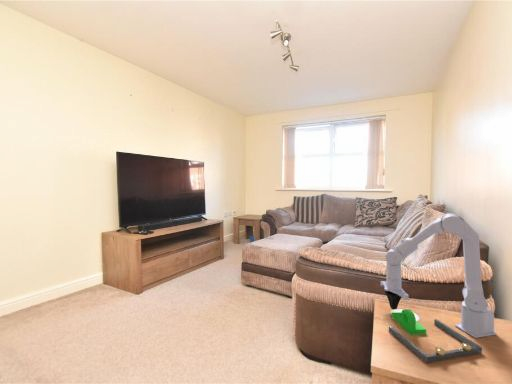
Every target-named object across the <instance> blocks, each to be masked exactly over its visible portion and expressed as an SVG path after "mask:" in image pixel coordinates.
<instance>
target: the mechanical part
mask: <svg viewBox="0 0 512 384" xmlns="http://www.w3.org/2000/svg"><path fill="white" fill-rule="evenodd" d="M392 317H393V318H394V319H395V320H396V321H397V322H398V323H399V324H398V325H400V326H401V327H402V328H403V329H404V331H406V333H408V334H409V335H410V336H411V335H412V336H413V335H427V329H426V328H425V327H424V326H423V325H422V324H421V323H420V322H418V320H416V316H415V313H414V312H413V311H412V309H409V308H407V309H406V308H405V309H402V311H400V312H391V318H392ZM393 318H392V319H393ZM394 319H393V320H394ZM395 320H394V321H395ZM396 321H395V322H396ZM397 322H396V323H397Z"/></svg>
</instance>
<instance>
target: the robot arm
mask: <svg viewBox="0 0 512 384" xmlns="http://www.w3.org/2000/svg"><path fill="white" fill-rule="evenodd" d="M445 232H448V233H450V234H452V235H454V236H457V237H458V238H460V239H461V240H462V247H463V248H462V249H463V251H462V252H463V266H464V267H463V268H464V287H463V288H462V290H461V295H462V297H463V299H464V300H463V301H462V302H461V312H460V313H461V317H460V320H461V323H456V324H454V326H455V327H457V328H458V329H460V330H462V331H463V332H465V334H466V333H467V334H468V335H470V336H471V337H473V338H475V339H477V338H482V337H483V338H484V337H489V336H490V337H491V336H495V335H497V334H498V333H497V332H496V331H495V315H494V311H492V309H491V308H490V307H488V301H487V299H486V298H485V296H484V294H485V293H484V288H483V285H482V283H483V282H482V267H481V266H482V265H481V264H482V263H481V251H480V250H481V249H480V236H479V234H478V232H477V231H476V230H475V229H474V228H473V227H472V226H471V225H470V224H469V223H468V222H467V221H466V220H465V219H464V218H463V217H462V216H460V215H458V214H456V213H452V212H447V213H444V214H443V215H442V216H441V217H438V218H437V219H435V220H433V221H432V222H430V223H429V224H428V225H426V226H425V227H424V228H423V229H422V230H420V231H419V232H418V233H417V234H415V235H414V236H413V237H405V238H402V239H400V242H398V244H397V245H393V246H392V247H391V249H389V250H388V251H387V252H386V254H385V261H386V266H385V268H386V270H385V271H386V272H385V274H386V277H385V278H386V280H381V281H380V286H381V287H384V294H385V295H386V298H387V299H388V304H389V307H390V309H391V310H398V306H399V305H400V304H399V303H400V301H401V299H402V300H403V301H408V300H409V298H410V297H409V294H408V293H407V292H405V290H404V289H403V288H402V261H403V259H406V258H408V257H409V256H410V255H412V254H413V253H414V252H416V251H417V250H418V249H419V245H420V244H421V243H423V242H424V241H426V240H427V239H429V238H431V237H432V236H433V235H435V234H444V233H445Z"/></svg>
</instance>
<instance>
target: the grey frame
mask: <svg viewBox="0 0 512 384" xmlns="http://www.w3.org/2000/svg"><path fill="white" fill-rule="evenodd" d="M433 321H434V323H433V324H434V326H436V327H437V328H439V329H441V330H442V331H444V332H445V333H447V334H448V335H450V336H452V337H453V338H455V339H456V340H457V341H459V342H460V343H461V348H457V349H451V350H445V349H444V348H442V347H438V346H437V347H435V349H434V350H435V351H434V353H427V354H426V353H425V352H424V351H423V350H422V349H420V348H419V347H417V345H415V344H414V343H413V342H411V341H410V340H409V339H407V338H406V336H405V335H403V334H401V333H400V332H399V331H398V330H397V329H395V327H393V326H392V325H389V326H388V332H389V333H390V334H391V335H392V336H394V337H395V338H396V339H397V340H398V341H399V342H400V343H402V344H403V345H404V347H406V348H408V349H409V351H411V352H412V353H413V354H415V355H416V356H417V357H418V358H419V359H420V360H422V361H423V362H424V363H425V364H430V363H436V362H441V361H446V360H453V359H457V358H463V357H469V356H475V355H480V354H482V352H483V347H482V346H481V345H479V344H477V343H475V341H472V340H471V339H469V338H467V337H466V336H464V335H462V334H461V333H460V332H458V331H456V330H455V329H453V328H452V327H450V326H448V325H447V324H445V323H443V322H442V321H440V320H439V319H437V318H435V319H433Z"/></svg>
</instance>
